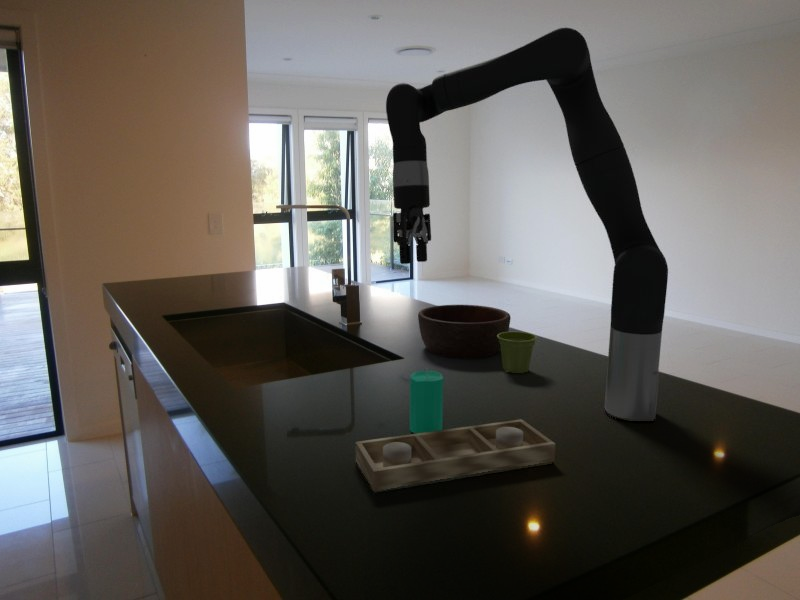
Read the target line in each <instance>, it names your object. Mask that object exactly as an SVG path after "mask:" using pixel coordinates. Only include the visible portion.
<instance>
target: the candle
mask: <svg viewBox="0 0 800 600" xmlns="http://www.w3.org/2000/svg"><path fill="white" fill-rule="evenodd" d="M425 369H426V370H419V371H415V372H413V373H412V374H411V375H410V376H409V431H410V430H411V432H414V433H415V434H417V433H424V432H432V431H439V430H443V421H444V420H443V419H444V418H443V416H444V415H443V414H444V409H443V408H444V404H443V403H444V376H443V374H441V373H440V372H439V371H437V370H428V367H426V368H425ZM411 432H410V433H411Z"/></svg>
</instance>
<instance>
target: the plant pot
mask: <svg viewBox="0 0 800 600" xmlns="http://www.w3.org/2000/svg"><path fill="white" fill-rule="evenodd" d="M497 338H498V339H499V343H500V345H501V350H500V352H501V360H502V369H504V370H505V371H508V372H509V373H513V374H514V373H522V374H524V373H523V372H526V373H527V372H529V371H528V370H530V365H531V359H532V354H533V349H534V345H535V342H536V340H537V339H538V336H537V335H536V334H533V333H529V332H526V331H525V332H523V331H508V332H503V333H499V334H498V335H497ZM504 370H503V371H504ZM505 371H504V372H505ZM508 372H507V373H508Z"/></svg>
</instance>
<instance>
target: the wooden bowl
mask: <svg viewBox="0 0 800 600" xmlns="http://www.w3.org/2000/svg"><path fill="white" fill-rule="evenodd" d="M510 314H511V313H509V312H508V311H506V310H503V309H500V308H496V307H491V306H487V305H486V306H485V305H476V304H443V305H435V306H434V305H433V306H430V307H426V308H422V309H421V310H420V311H418V315H417V316H418V317H417V318H418V319H417V320H418V327H419V332H420V336H421V337H420V338H421V340H422V342H423V343H424V346H425V348H426V349H427V350H428V351H429V352H431V353H432V354H434V355H437V356H440V357H445V358H452V359H453V358H454V359H464V358H471V359H483V358H488V357H487V356H489V357H491V355H492V356H495V355H496V354H498V353H499V352H501V345H500V343H499V339H498V338H497V335H498V334H499V333H503V332H510V331H509V330H510V324H511V315H510ZM494 354H495V355H494ZM482 357H483V358H482Z"/></svg>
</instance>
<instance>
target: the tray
mask: <svg viewBox="0 0 800 600" xmlns="http://www.w3.org/2000/svg"><path fill="white" fill-rule="evenodd" d="M354 447H355V463H356V462H357V464H358V465H357V464H356V465H357V467H358V466H359V467H358V469H359V468H360V469H361V471H362V472H361V471H360V472H361V474H362V473H363V474H364V476H365V478H366V479H367V481H368V483H369V484H370V486H371V488H372V490H373V491H374V492H375V491H381V490H386V489H391V488H397V487H401V486H408V485H413V484H417V483H423V482H429V481H435V480H440V479H447V478H454V477H460V476H465V475H471V474H476V473H482V472H488V471H493V470H502V469H508V468H515V467H522V466H528V465H534V464H539V463H547V462H551V461H554V462H555V460H556V459H555V457H556V443H555V442H554V441H552V440H551V439H549V438H548V437H547V436H546V435H545V434H543V433H541V432H540V431H538V430H537V429H536V428H534V427H533V426H531V425H530V424H529V423H527V422H526V421H524V420H523V419H521V418H519V419H515V420H506V421H500V422H491V423H484V424H478V425H477V424H476V425H469V426H461V427H456V428H447V429H442V430H439V431H432V432H424V433H417V434H411V433H410V434H404V435H397V436H389V437H382V438H381V437H380V438H374V439H368V440H367V439H366V440H365V439H364V440H360V441H355V446H354ZM360 469H359V470H360ZM363 474H362V475H363ZM364 476H363V477H364ZM365 478H364V479H365ZM366 479H365V480H366ZM367 481H366V482H367ZM368 483H367V484H368ZM370 486H369V487H370ZM371 488H370V489H371ZM372 490H371V491H372ZM373 491H372V492H373Z"/></svg>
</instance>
